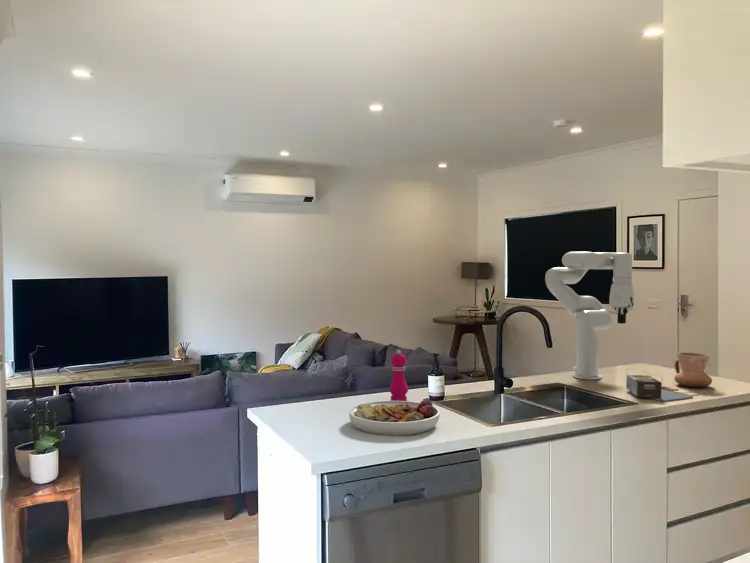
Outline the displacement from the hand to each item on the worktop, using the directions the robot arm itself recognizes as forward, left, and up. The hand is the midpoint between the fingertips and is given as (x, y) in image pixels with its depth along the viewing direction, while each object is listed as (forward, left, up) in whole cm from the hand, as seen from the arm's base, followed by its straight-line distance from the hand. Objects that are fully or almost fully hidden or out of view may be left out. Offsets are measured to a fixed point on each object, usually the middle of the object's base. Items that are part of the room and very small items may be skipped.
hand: (621, 323), depth 261 cm
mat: (+21, -1, -28) cm, 34 cm away
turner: (+17, +12, -28) cm, 34 cm away
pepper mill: (-15, -101, -28) cm, 106 cm away
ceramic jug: (+13, +28, -28) cm, 42 cm away
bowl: (+16, -118, -28) cm, 122 cm away
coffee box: (+10, -2, -24) cm, 26 cm away
